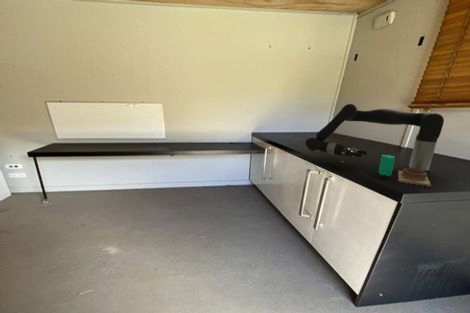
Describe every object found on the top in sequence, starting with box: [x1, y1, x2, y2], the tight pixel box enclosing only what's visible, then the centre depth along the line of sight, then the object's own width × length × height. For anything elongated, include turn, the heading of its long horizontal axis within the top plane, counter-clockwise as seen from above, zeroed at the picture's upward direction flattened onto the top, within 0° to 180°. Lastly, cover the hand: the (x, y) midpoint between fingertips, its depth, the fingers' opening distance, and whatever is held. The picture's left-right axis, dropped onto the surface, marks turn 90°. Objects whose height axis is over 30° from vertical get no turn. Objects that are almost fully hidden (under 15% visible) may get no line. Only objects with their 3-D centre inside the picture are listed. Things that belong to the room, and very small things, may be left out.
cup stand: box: [397, 167, 432, 188], centre depth 106 cm, size 18×12×4 cm, turn 142°
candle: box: [378, 154, 396, 177], centre depth 112 cm, size 6×6×12 cm
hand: (364, 154), depth 119 cm, fingers open, 8 cm apart
